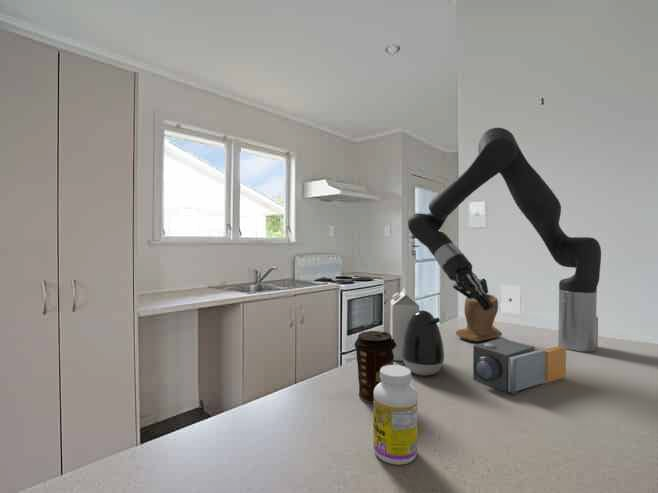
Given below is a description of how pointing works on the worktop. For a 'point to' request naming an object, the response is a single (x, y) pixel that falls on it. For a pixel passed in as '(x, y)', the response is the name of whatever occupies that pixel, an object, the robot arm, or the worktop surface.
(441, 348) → the pump dispenser
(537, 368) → the grey and orange bar
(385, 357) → the coffee cup
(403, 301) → the milk carton
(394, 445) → the supplement bottle
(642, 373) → the worktop surface
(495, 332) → the clay pot
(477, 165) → the robot arm
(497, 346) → the camera body
